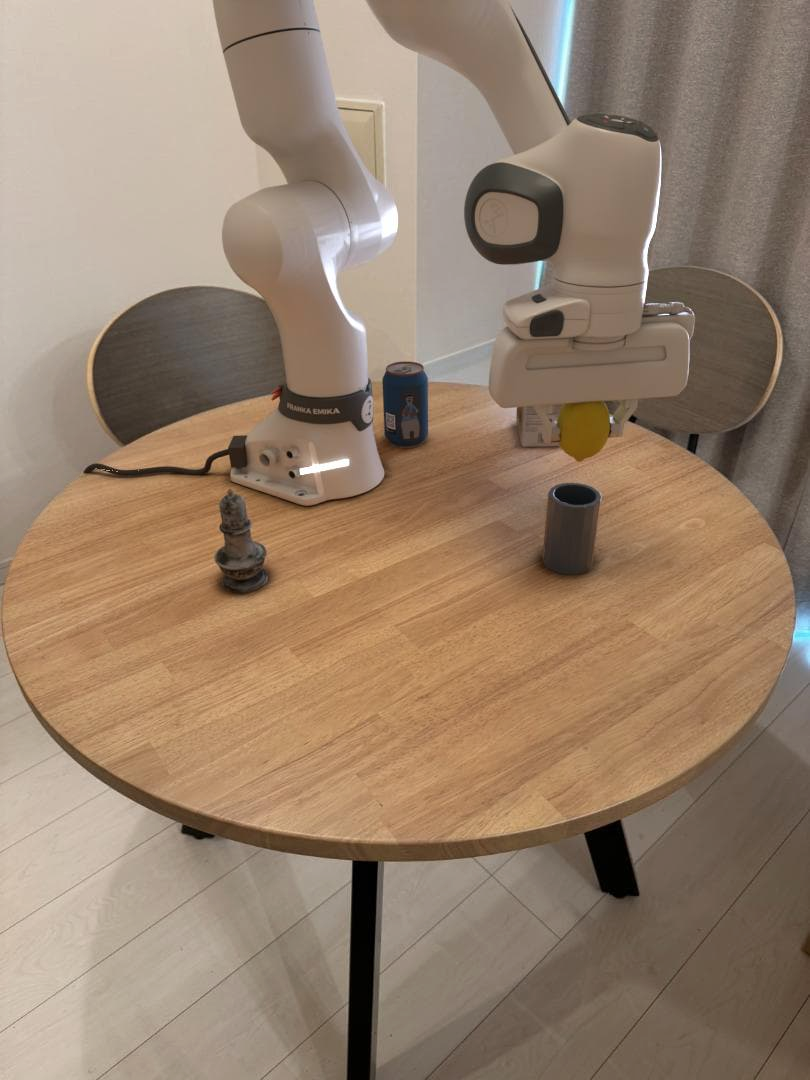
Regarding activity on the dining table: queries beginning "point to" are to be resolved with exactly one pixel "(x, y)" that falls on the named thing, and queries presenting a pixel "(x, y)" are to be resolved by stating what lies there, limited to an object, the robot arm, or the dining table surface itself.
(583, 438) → the lemon
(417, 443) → the soda can
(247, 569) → the grey chess piece
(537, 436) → the coffee box
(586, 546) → the cup
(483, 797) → the dining table surface
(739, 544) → the dining table surface
